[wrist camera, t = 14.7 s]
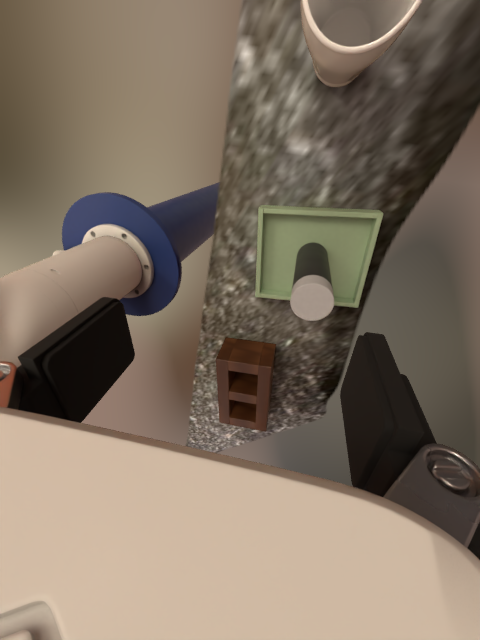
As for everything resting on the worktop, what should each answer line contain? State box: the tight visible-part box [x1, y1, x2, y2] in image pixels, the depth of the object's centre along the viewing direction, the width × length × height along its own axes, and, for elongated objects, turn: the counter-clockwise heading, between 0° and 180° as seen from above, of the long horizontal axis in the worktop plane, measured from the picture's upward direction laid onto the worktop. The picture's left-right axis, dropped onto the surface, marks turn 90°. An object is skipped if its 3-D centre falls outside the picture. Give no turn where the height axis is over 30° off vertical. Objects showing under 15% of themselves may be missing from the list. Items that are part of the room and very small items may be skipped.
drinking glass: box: [300, 0, 422, 87], centre depth 20 cm, size 7×7×15 cm
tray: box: [255, 205, 383, 308], centre depth 36 cm, size 14×12×2 cm
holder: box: [216, 337, 276, 431], centre depth 48 cm, size 9×16×6 cm, turn 179°
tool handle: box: [290, 242, 334, 321], centre depth 31 cm, size 4×4×13 cm
